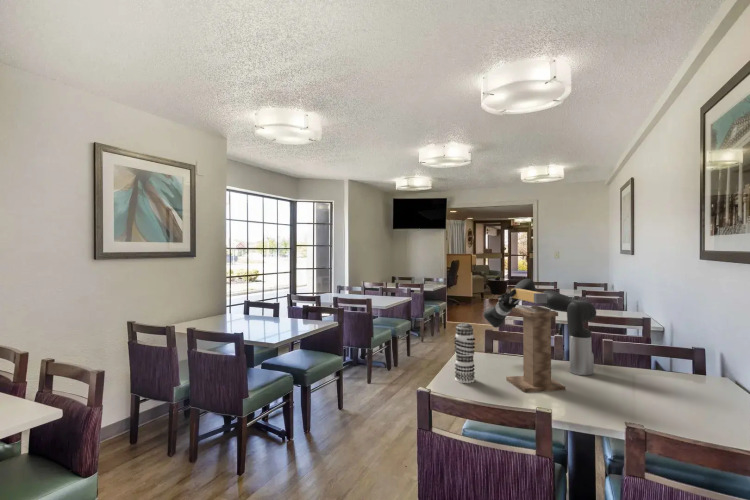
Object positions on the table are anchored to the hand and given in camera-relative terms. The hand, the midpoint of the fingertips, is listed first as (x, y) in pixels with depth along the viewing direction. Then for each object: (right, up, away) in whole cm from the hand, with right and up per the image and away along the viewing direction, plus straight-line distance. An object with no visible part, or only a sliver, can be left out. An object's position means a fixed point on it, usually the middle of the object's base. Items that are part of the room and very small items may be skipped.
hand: (519, 290), depth 188 cm
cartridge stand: (+2, -39, -13) cm, 41 cm away
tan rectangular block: (+1, -3, -6) cm, 7 cm away
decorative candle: (-26, -39, -5) cm, 48 cm away
